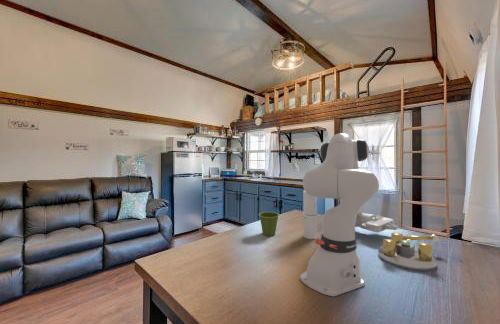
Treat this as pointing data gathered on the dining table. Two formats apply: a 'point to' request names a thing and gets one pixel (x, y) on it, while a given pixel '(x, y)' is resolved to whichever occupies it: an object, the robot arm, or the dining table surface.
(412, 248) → the tribrach
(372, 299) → the dining table surface
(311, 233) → the cylindrical container
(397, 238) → the brass lever handle
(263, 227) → the plant pot
